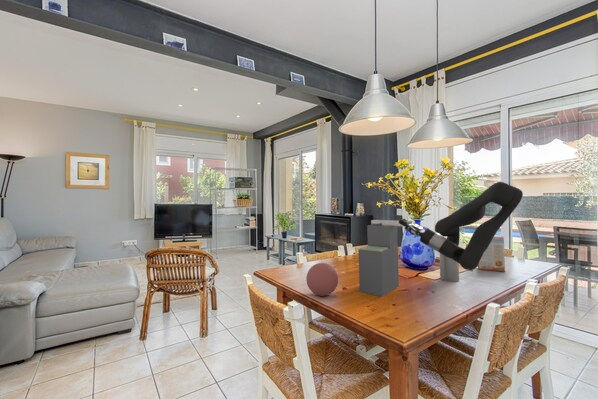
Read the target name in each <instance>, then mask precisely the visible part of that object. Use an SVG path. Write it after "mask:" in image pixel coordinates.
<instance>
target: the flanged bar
mask: <svg viewBox="0 0 598 399" xmlns="http://www.w3.org/2000/svg"><path fill="white" fill-rule="evenodd" d="M405 222H407V223H409V224H411V225H412V223H413V221H412V220H407V221H405ZM370 223H371V224H370V225H374V226H381V225H383V226H397V227H404V226H403V225H401V224H399V220H387V219H371V220H370Z"/></svg>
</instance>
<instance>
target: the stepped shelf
mask: <svg viewBox="0 0 598 399" xmlns="http://www.w3.org/2000/svg"><path fill="white" fill-rule="evenodd" d="M366 230H367V231H366V232H367V234H366V235H367V245H365V246H362V247H360V248H359V249H358V250H357V251H358V279H359V280H358V282H359V285H358V286H359V292H360V293H363V292H364V294H368V295H373V296H377V297H382V298H383V297H385V296H386V295H388V294H389V293H391V292H393V291H394V290H395V289H396V288H398V287H399V286H400V282H399V279H400V277H399V244H398V243H399V242H398V241H399V240H398V226H383V225H381V226H374V225H371V224H368V225H366Z"/></svg>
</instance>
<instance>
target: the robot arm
mask: <svg viewBox="0 0 598 399" xmlns="http://www.w3.org/2000/svg"><path fill="white" fill-rule="evenodd" d="M523 195H524V193H523V191H522V189H520V188H518V187H516V186H513V185H512V184H508V183H507V182H504V181H497V182H495V183H493V184H491V185H490V186H489V187H487V189H485V190H484V191H482V193H480V194H479V195H478V196H477V197H475V198H474V199H472V200H470V201H469V202H467V203H466V204H464V205H463V206H461V207H460V208H459V209H457V210H456V211H454V212H452V213H451V214H449V215H448V216H446V217H444V218H441V219H439V220H438V221H437V222H436V223H435V226H434V230H433V229H431V228H425V227H423V226H422V225H420V224H417V223H415V222H412V225H411V224H409V223H407V222H405V221H408V219H405V218H403V219H402V218H401V219H399V220H398V221H399V224H401V225H403V226H402V227H404V230H406V231H407V232H409V233H410V234H411V235H412V236H417V237H420V238H419V242H421V243H423V244H424V245H425V246H427V247H429V248H430V249H432V250H433V251H435V252H438V253H439V279H440V280H441V281H445V282H453V283H454V282H460V268H459V266H460V267H461V268H463V269H464V270H468V271H472V270H475V269H476V268H478V265H479V261H480V259H481V257H482V255H483V253H484V252H485V251H486V249H487V248H488V246H489V244H490V243H491V241H492V239H493V237H494V236H496V234H497V232H499V230H500V229H501V227H502V226H503V225H504V223H505V222H506V221H507V220H508V218H509V217H510V216H511V215H512V213H513V212H514V211H515V210H516V208H517V207H518V206H519V204H520V203H521V201H522V199H523ZM490 203H494V204H496V205H498V206H500V207H501V208H500V210H499V211H498V212H497V213H496V214H495V215H494V216H492V217H491V218H489V219H488V220H486V221H484V222H482V223H481V224H479V226H477V227H476V228H475V230H474V232H473V234H472V236H471V237H470V239H469V242H468V244H467V245H466V246H465V248H462V247H461V246H459V245H460V235H461V234H460V232H461V231H460V230H461V229H460V228H462V227H467V226H470V225H472V224H474V223H477V222H479V221H480V220H482V218H484V216H485V214H486V208H487V207H486V206H487V205H488V204H490Z"/></svg>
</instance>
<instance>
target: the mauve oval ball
mask: <svg viewBox="0 0 598 399" xmlns="http://www.w3.org/2000/svg"><path fill="white" fill-rule="evenodd" d="M305 280H306V284H307V287H308V289H309V290H310V291H311V292H312V293H313V294H314V295H316V296H321V297H326V296H328V295H331V294H332V293H334V291H335V290H337V287H338V284H339V275H338V272H337V271H336V269H335V268H334V267H333V266H332V265H330V264H329V263H325V262H318V263H314V264H313V265H312V266H311V267H310V268H309V269H308V271H307V273H306V279H305Z"/></svg>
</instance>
